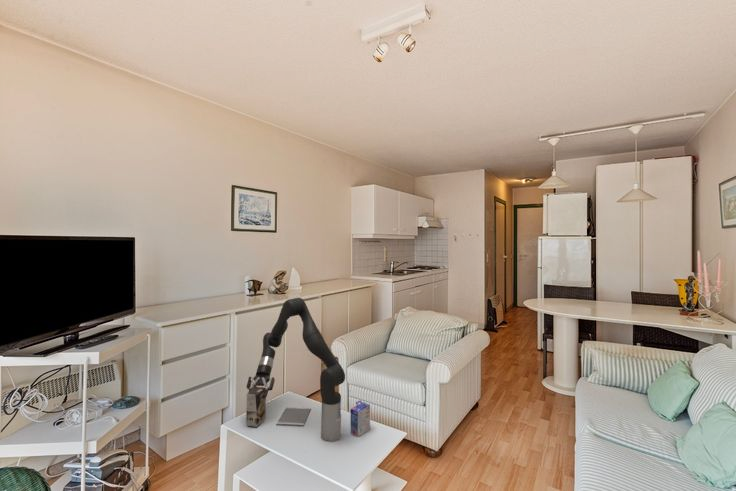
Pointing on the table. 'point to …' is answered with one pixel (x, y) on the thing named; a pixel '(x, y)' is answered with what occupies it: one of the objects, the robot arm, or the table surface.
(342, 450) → the table surface
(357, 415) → the ink cartridge box
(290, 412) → the mat
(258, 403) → the coffee box
